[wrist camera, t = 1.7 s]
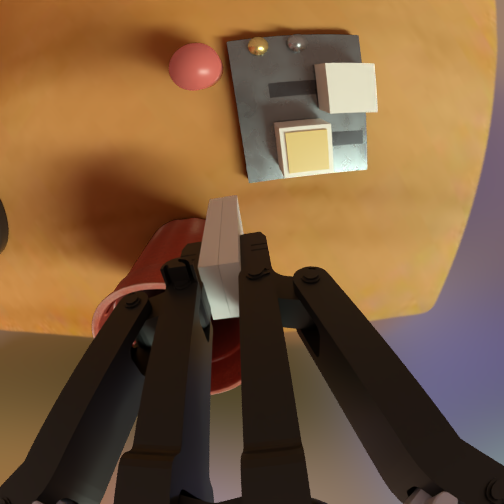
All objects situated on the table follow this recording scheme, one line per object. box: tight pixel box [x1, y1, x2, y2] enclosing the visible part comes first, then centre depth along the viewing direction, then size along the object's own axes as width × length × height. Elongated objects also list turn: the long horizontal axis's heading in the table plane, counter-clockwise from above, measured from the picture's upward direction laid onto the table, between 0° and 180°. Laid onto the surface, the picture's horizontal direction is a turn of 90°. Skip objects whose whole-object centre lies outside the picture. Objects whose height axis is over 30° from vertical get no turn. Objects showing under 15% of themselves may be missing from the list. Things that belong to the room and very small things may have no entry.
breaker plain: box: [314, 63, 378, 114], centre depth 26 cm, size 5×5×4 cm
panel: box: [227, 34, 367, 183], centre depth 29 cm, size 14×16×2 cm
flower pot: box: [92, 218, 241, 395], centre depth 33 cm, size 16×16×16 cm
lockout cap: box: [169, 43, 223, 90], centre depth 25 cm, size 4×4×7 cm
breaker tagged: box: [274, 118, 334, 178], centre depth 29 cm, size 5×5×4 cm
